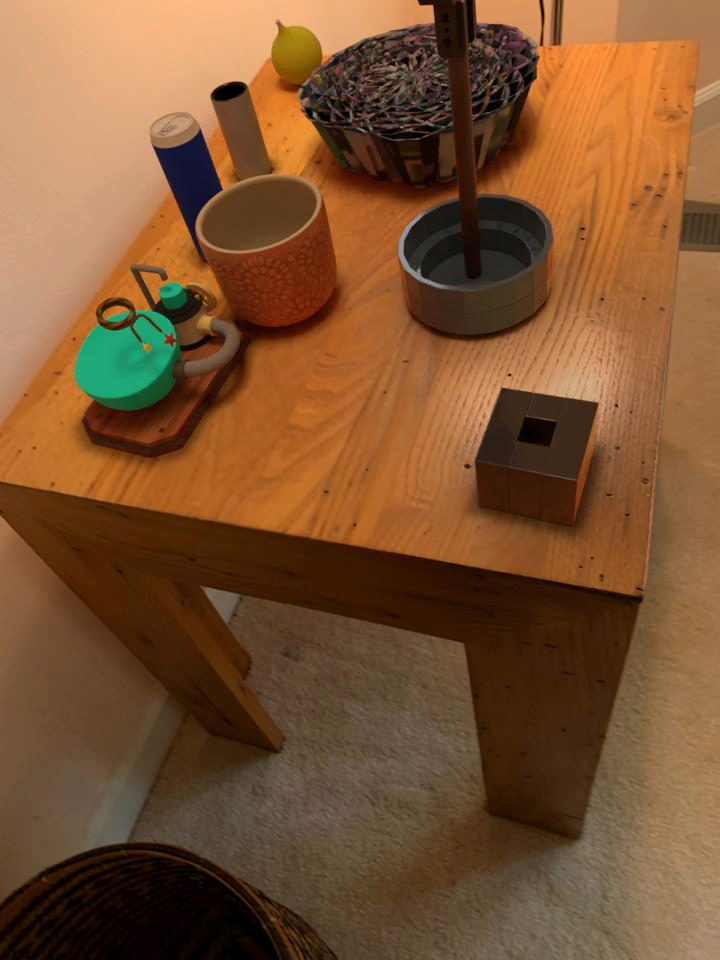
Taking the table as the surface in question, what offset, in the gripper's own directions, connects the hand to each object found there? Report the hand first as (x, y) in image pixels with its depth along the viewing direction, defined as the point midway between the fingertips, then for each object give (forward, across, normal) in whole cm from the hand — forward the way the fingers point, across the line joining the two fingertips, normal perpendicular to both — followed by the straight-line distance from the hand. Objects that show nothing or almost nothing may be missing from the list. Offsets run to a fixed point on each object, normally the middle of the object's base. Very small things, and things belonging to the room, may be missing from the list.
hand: (457, 47), depth 56 cm
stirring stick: (+21, 0, 0) cm, 21 cm away
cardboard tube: (+23, +17, +34) cm, 44 cm away
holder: (+23, -21, -11) cm, 33 cm away
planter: (+23, -5, +19) cm, 30 cm away
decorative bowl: (+23, +25, +14) cm, 37 cm away
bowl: (+23, 0, 0) cm, 23 cm away
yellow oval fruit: (+23, +39, +37) cm, 58 cm away
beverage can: (+23, +2, +31) cm, 39 cm away
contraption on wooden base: (+23, -18, +25) cm, 38 cm away
